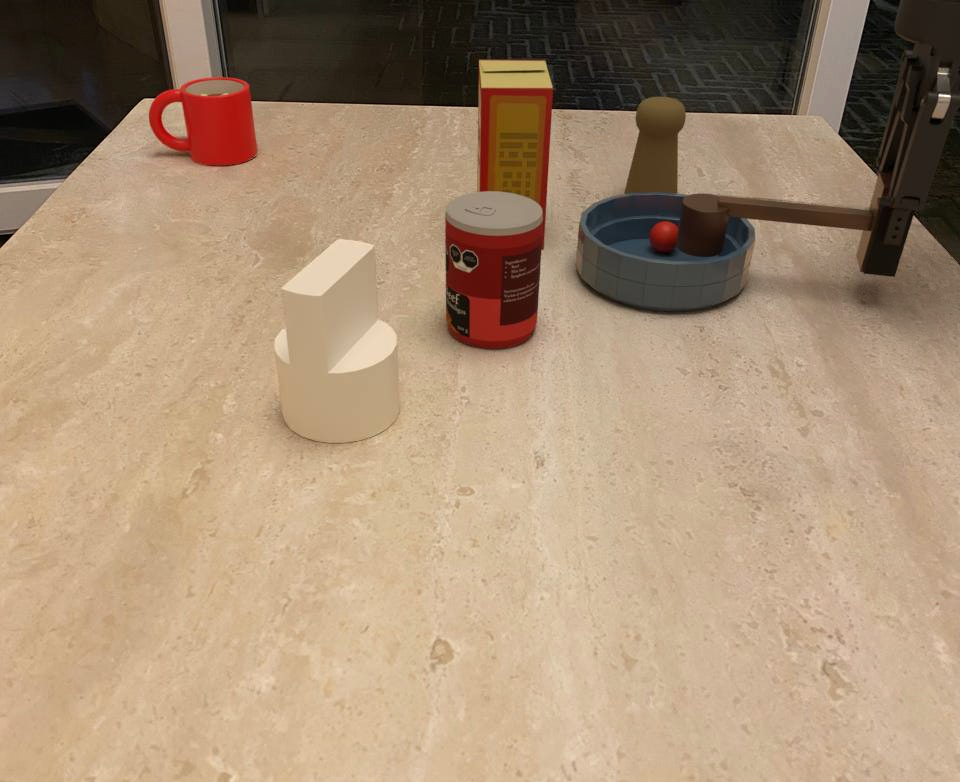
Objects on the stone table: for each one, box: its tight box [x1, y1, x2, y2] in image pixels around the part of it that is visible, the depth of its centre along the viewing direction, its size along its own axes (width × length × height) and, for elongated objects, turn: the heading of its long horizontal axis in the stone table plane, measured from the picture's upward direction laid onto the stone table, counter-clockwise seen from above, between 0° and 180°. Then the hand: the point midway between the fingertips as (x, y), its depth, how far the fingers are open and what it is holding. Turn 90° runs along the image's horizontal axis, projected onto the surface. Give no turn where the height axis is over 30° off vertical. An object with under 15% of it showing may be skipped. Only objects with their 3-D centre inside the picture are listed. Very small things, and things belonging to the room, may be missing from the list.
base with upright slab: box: [273, 238, 401, 444], centre depth 74 cm, size 9×9×12 cm
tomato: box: [649, 221, 678, 253], centre depth 98 cm, size 3×3×3 cm
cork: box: [623, 96, 687, 194], centre depth 107 cm, size 6×6×11 cm
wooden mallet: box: [676, 172, 893, 273], centre depth 91 cm, size 20×4×8 cm, turn 79°
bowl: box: [575, 192, 756, 312], centre depth 95 cm, size 16×16×5 cm
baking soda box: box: [476, 59, 554, 250], centre depth 99 cm, size 10×6×16 cm
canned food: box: [444, 191, 543, 349], centre depth 84 cm, size 8×8×11 cm
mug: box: [148, 76, 258, 166], centre depth 117 cm, size 8×12×8 cm, turn 98°
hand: (875, 262), depth 92 cm, fingers closed on wooden mallet, 4 cm apart
